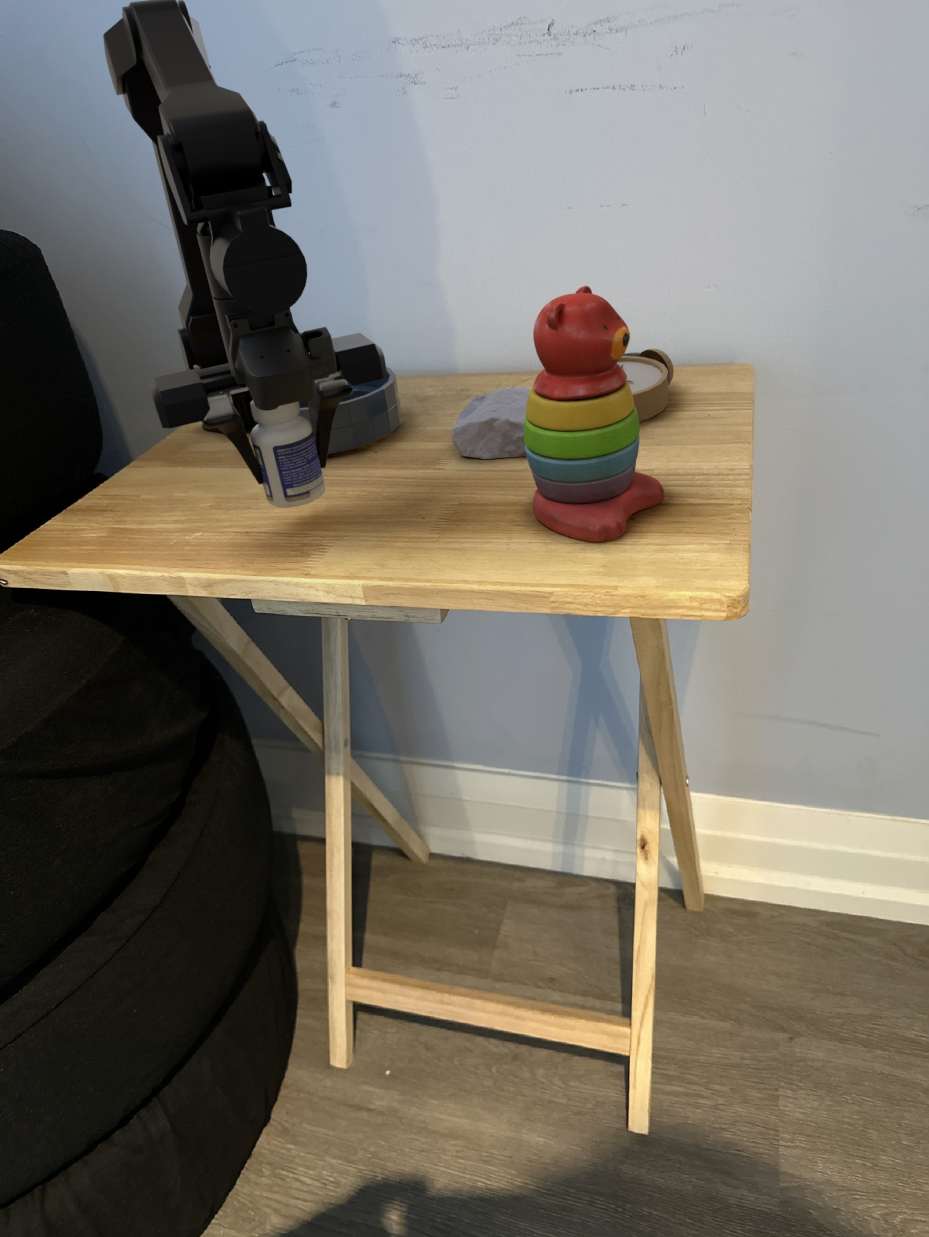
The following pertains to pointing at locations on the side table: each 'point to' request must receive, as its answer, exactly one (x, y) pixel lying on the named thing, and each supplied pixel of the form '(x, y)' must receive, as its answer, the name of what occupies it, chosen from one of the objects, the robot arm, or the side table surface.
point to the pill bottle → (287, 456)
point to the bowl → (364, 414)
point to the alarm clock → (648, 380)
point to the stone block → (493, 425)
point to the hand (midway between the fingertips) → (291, 474)
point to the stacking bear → (584, 422)
